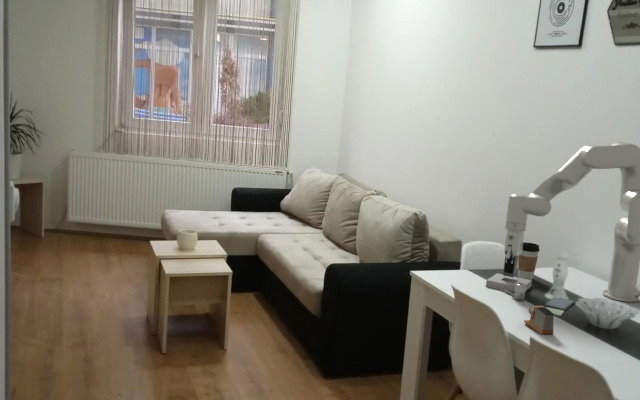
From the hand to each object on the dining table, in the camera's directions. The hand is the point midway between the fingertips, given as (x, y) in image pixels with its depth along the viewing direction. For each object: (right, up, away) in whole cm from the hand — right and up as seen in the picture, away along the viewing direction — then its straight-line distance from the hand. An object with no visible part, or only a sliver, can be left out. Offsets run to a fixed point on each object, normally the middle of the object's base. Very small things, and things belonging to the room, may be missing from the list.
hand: (510, 271), depth 232 cm
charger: (0, -2, 0) cm, 2 cm away
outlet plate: (0, -6, +1) cm, 6 cm away
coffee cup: (+11, -5, +15) cm, 19 cm away
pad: (+6, -11, -28) cm, 30 cm away
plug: (-2, -9, -17) cm, 19 cm away
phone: (+12, -10, -18) cm, 24 cm away
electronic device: (-6, -13, -46) cm, 48 cm away
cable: (-4, -7, -10) cm, 13 cm away
